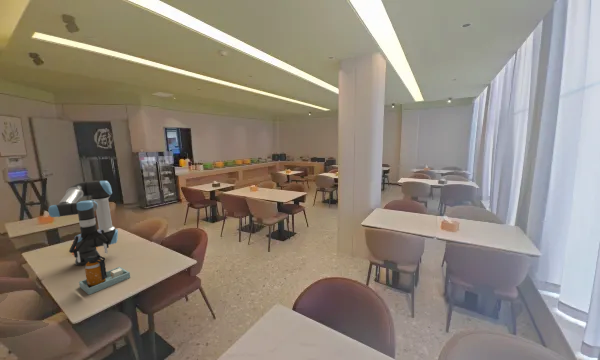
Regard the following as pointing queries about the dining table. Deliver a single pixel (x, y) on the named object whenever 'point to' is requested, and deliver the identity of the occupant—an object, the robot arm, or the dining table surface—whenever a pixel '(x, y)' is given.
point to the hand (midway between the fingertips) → (93, 257)
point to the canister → (95, 270)
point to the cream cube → (116, 273)
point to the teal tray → (105, 284)
